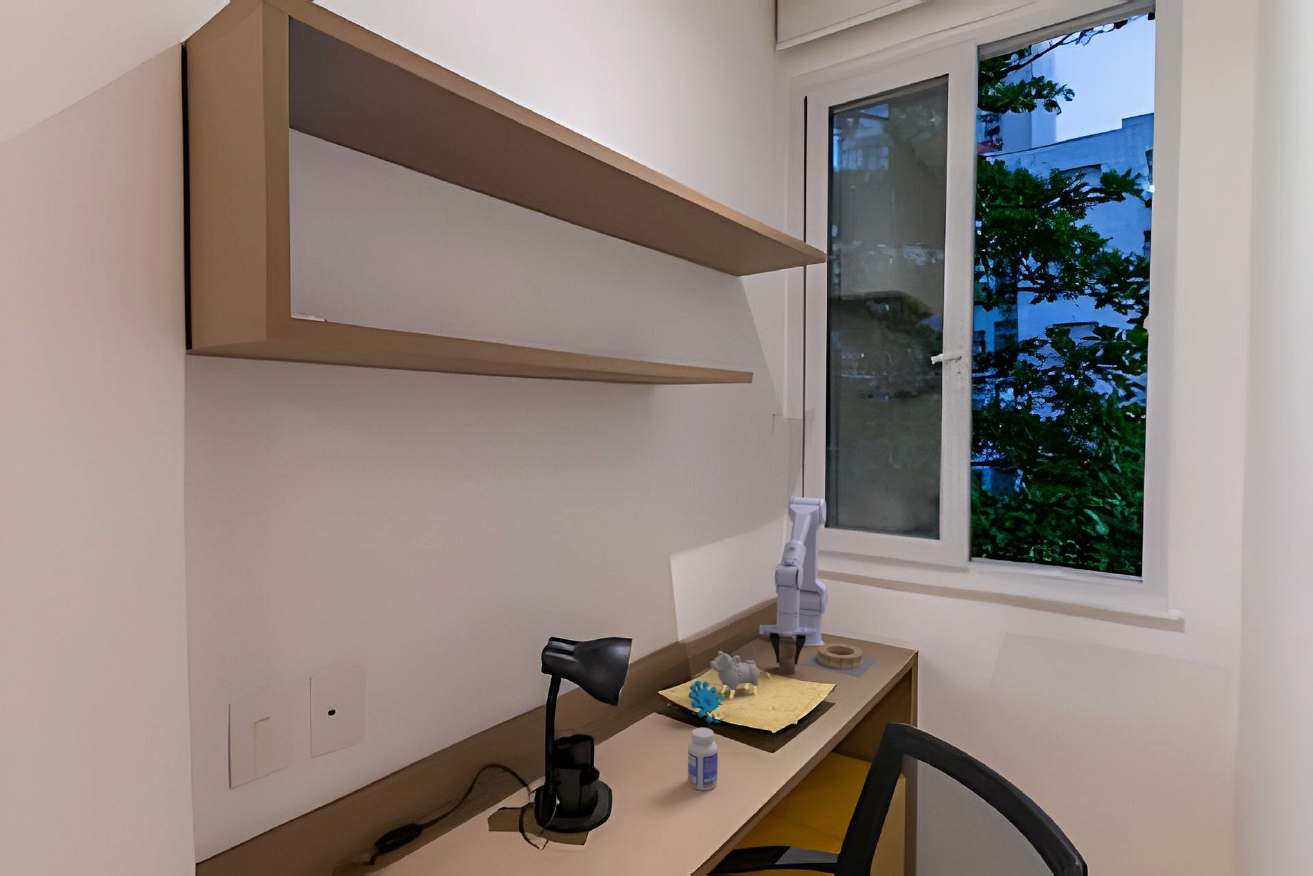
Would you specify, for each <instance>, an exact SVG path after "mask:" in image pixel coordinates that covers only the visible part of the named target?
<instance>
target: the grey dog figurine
mask: <svg viewBox="0 0 1313 876" xmlns="http://www.w3.org/2000/svg"><path fill="white" fill-rule="evenodd" d="M717 654H718V655H717V656H716V657H715V658H713V659H714V660H711V661H710V662H709V665H710V667H711V669H712V670H713V671H714V672H716V673H717V675H718V679H719V680H720V682H721V685H722V684H723V685H727V686H728V687H727V688H728V689H729V690H730V689H731V690H735V689H737V687H738V686H739V685H740V684H745V683H750V684H751V685H752V686H753V685H754V686H757V685H758V686H759V679H760V673H761V672H760V670H759V668H758V667H757V663H756V661H755V660H751V659H750V660H749V659H748V660H747V659H746V660H745V662H741V657H740V655H734V656H733V657H731V656H730V655H729V654H728V653H724V652H723V651H722V650H719V651H717ZM735 691H736V690H735Z"/></svg>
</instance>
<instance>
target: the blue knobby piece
mask: <svg viewBox="0 0 1313 876" xmlns="http://www.w3.org/2000/svg"><path fill="white" fill-rule="evenodd" d="M701 686H702V687H701ZM709 686H710V683H709V682H707V681H703V682H702V680H696V681H695V682H694V683H693V684H692V685H690V686H689V689H690V692H688V698H690V699H692V702H691V703H690V706H691V708H693V709H696V708H700V709H702V710H700V711H699V712H697V714H696V713H694V712H692V711H691V712H692V714H693V715H697V716H699V718H702V717H704V716H705V714H707V712H709V713H711V712H712V711H713V710H715V709H716V708H717V707H719V706H718V705H724V704H723V703H722V702H723V701H724V698H726V695H725V693H720V694H719V695H715V694H716V693H717V692H718V690H717V687H715V686H712V687H711V688H710V690H709V689H708V687H709ZM705 721H706V722H707V723H708V724H711V723H712V722H713V723H715V724H720V723H721V720H720V721H718V720H716V719H714V718H713V716H712V717H710V716H708V715H707V717H705Z"/></svg>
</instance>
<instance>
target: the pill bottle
mask: <svg viewBox="0 0 1313 876" xmlns="http://www.w3.org/2000/svg"><path fill="white" fill-rule="evenodd" d="M691 739H692V740H691V741H690V742H689V744H688V747H687V748H688V749H687V755H688V756H687V765H688V766H687V778H688V779H687V780H688V781H687V782H688V785H689V786H690V787H691V788H693V789H695V790H698V791H710V790H712V789H714V788H716V786H717V785H718V769H719V768H718V762H719V761H718V758H719V757H718V744H717V743H716V742H715V741H714V740H715V734H714V730H712V729H710V728H708V727H697V728H695V729H693V730H692V732H691Z"/></svg>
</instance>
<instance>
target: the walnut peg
mask: <svg viewBox="0 0 1313 876" xmlns="http://www.w3.org/2000/svg"><path fill="white" fill-rule="evenodd" d="M795 652H796V642H795V640H794V639H789V638H779V663H778V673H780V674H782V673H783V674H795V672H796V665H795Z"/></svg>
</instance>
